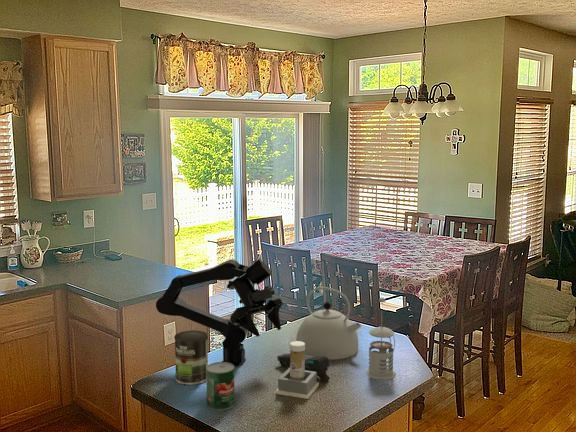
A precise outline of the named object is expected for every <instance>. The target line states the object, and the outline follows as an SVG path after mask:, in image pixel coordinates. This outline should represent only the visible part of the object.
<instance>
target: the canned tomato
mask: <svg viewBox="0 0 576 432" xmlns="http://www.w3.org/2000/svg"><path fill="white" fill-rule="evenodd" d="M206 375H207V376H206V378H207V379H206V407H207V406H208V407H209V408H208V407H207V408H208V409H209V410H212V409H213V410H212V411H225V410H229V409H231V408H233V407H234V406H235V403H236V402H235V366H234V365H233V364H231V363H228V362H222V361H218V362H217V361H215V362H212V363H208V366H207V367H206Z"/></svg>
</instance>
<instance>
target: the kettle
mask: <svg viewBox="0 0 576 432" xmlns="http://www.w3.org/2000/svg"><path fill="white" fill-rule="evenodd" d="M318 290H327V291H331V292H335V293H337V294H339V295H341V296H342V297H343V298H344V300H345V301H346V304H347V313H346V315H344V314H343V313H342V312H340V311H337V310H333V309H331V306H332V305H331V302H329V301H326V302H324V304H323V308H324V309H319V310H316V311H312V310H311V307H310V302H309V301H310V298H311V295H312V294H313V293H314V292H315V291H318ZM306 298H307V299H306V306H307V307H306V308H307V310H308V312H309V315H308V316H307V317H305V318H304V320H303V321H302V322H301V324H300V325H299V327H298V330H297V332H296V340H295V341H301V342H304V343H305V351H304V355H306V356H321V357H322V356H325V357H327V358H328V360H340V359H345V358H349V357H352V356H354V355H356V354H357V353H358V352H359V336H358V332H357V330H358V329H360V328H362V325H361V324H360V323H359V322H354V323H353V322H352V321H351V320H350V319H349V316H350V315H351V314H350V313H351V303H350V301H349V299H348V297H347V296H346V294H344V293H343V292H342V291H340V290H338V289H335V288H332V287H326V286H318V287H315V288H313V289H311V290H310V291H309V293H308V295H307V297H306Z"/></svg>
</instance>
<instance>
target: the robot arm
mask: <svg viewBox="0 0 576 432" xmlns="http://www.w3.org/2000/svg"><path fill="white" fill-rule="evenodd" d="M272 275H273V273H272V270H271V269H270V267H269V266H268V264H266V263H265V262H264V261H262V260H261V259H260V258H258V259H256V261H254V262H253V263H252V264H251V265H250V266H248V265H245V264H241V263H239V262H238V261H237V260H236V259H228V260H226V261H224V262H221V263H218V264H217V265H215V266H213V267H210V268H206V269H202V270H199V271H194V272H190V273H185V274H181V275H180V274H179V275H177V276H174V278H173V279H172V280H171V282H170V284H169V286H168V287H167V289H166V290H165V292H164V293H163V295H161V297H159V298H158V299H157V300H156V302H155V308H156V310H157V312H158V313H159V314H162V315H167V316H170V317H172V316H173V317H182V318H185V319H187V320H189V321H192V322H194V323H196V324H200V325H201V326H204V327H206V328H209V329H211V330H214V331H217V332H218V333H220V334H221V335H222V337H224V339H223V341H222V342H221V345H222V355H223V356H222V360H221V362H228V363H231V364H233V365H234V367H239V366H240V365H241V364H243V363H244V362H245V361H246V360H247V359H246V350H245V349H246V348H245V347H244V343H243V342H244V341H245V340H246V338H247V336H248V333H249V332H250V333H251V334H253V335H254V336H256V337H257V338H258V337H259V336H260V335H261V334H260V332H259V330H258V328H257V326H256V324H255V323H254V320H253V315H256V314H259V313H262V312H263V313H264V312H265V314H266V318H268V320H269V321H270V322H271V323H272V325H273V326H274V327H275V328H276V330H278V331H280V330H282V326H281V322H280V321H281V320H280V314H279V313H280V309H281V308H282V306H283V305H284V302H283V301H282V299H281V298H279V297H276V298H273V296H274V295H275V290H274V288H273V286H272V285H266V286H265V287H264V289H261V290H260V289H259V288H257V289H256V288H255V287H254V285H256V284H257V285H260V284H262V283H263V282H264V281H266V279H268V278H270V277H271V276H272ZM210 281H228V284H227V285H226V288H227V289H228V290H231V291H232V290H235V292H236V293H237V296H238V297H239V301H238V302H239V304H240V305H242V304H243V306H240V307H236V308H235V309H234V311H233V312H232V313H231V315H230V318H229V319H227V318H223V317H220V316H219V315H218V316H217V315H216V314H213V313H210V312H209V311H205V310H203V309H200V308H199V307H196V306H193V305H190V304H188V303H187V302H186V301H185V300H183V299H182V298H181V297H180V294H181V292H182V291H183V288H185V287H190V286H194V285H199V284H202V283H206V282H210ZM268 299H269V300H268ZM267 300H268V302H267ZM266 302H267V303H266ZM265 303H266V304H265Z"/></svg>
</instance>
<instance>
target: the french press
mask: <svg viewBox="0 0 576 432" xmlns="http://www.w3.org/2000/svg"><path fill="white" fill-rule="evenodd" d="M378 302H380V303H385V302H386V299H385V297H380V298H379V299H378ZM380 314H381V321H380V323H381V324H380V326H377V327H373V328H371V329H369V330H368V333H369V335H371V337H375V338H380V340H375V341H371V342H370V343H369V345H370V346H369V347H368V368H367V370H365V375H366V374H367V375H366V376H367V377H369V378H371V379H375V380H380V379H381V380H382V379H383V380H391V378H392V379H395V377H396V376H397V373H396V372H395V371H394V351H395V346H396V339H395V336H394V335H395V332H394V331H393V330H392V329H390V328H388V327H387V326H386V327H385V326H383V312H381V313H380ZM392 337H393V341H394V342H393V343H394V344H393V343H391V342H392V341H391V340H392V339H391V338H392ZM384 338H387V339H389V341H385V340H382V339H384ZM373 349H374V350H373ZM383 380H382V381H383Z"/></svg>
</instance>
